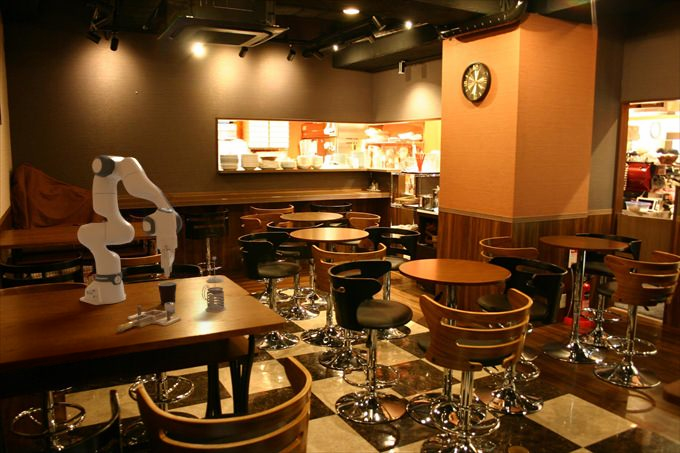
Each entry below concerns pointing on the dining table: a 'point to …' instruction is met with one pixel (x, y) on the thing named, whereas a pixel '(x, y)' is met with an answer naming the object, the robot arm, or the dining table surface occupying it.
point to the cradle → (153, 317)
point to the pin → (127, 325)
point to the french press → (214, 295)
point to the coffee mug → (167, 292)
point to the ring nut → (170, 307)
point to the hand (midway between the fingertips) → (168, 274)
